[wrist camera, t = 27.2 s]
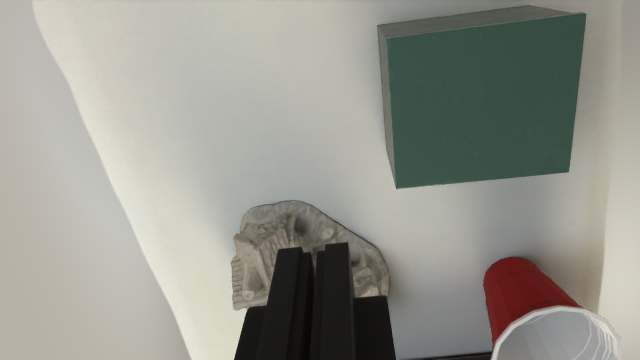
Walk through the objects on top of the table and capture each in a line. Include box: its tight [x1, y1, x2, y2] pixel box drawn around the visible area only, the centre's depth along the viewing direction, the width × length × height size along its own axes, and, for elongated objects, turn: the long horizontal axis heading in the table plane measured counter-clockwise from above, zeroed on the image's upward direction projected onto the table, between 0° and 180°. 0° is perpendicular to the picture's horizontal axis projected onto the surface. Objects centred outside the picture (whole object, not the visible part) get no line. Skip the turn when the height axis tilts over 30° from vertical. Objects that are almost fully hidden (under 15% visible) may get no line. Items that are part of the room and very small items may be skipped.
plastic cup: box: [483, 257, 623, 360], centre depth 43 cm, size 11×11×12 cm
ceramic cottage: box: [231, 201, 390, 311], centre depth 43 cm, size 16×16×15 cm
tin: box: [377, 5, 572, 182], centre depth 37 cm, size 13×12×8 cm
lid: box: [385, 12, 586, 189], centre depth 33 cm, size 13×12×1 cm
